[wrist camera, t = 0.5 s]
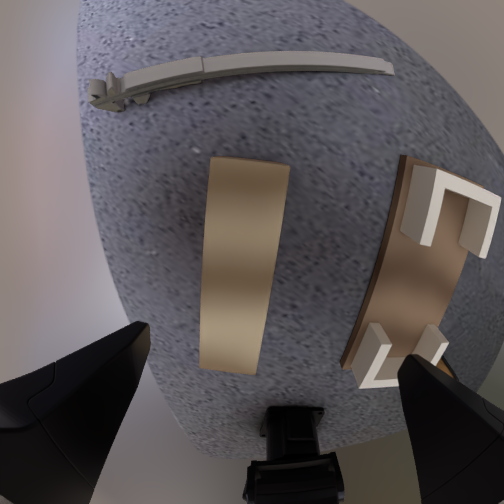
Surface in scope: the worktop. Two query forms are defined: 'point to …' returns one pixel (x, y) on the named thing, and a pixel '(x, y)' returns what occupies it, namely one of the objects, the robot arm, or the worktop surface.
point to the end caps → (422, 231)
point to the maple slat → (239, 259)
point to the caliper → (222, 73)
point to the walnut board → (412, 272)
